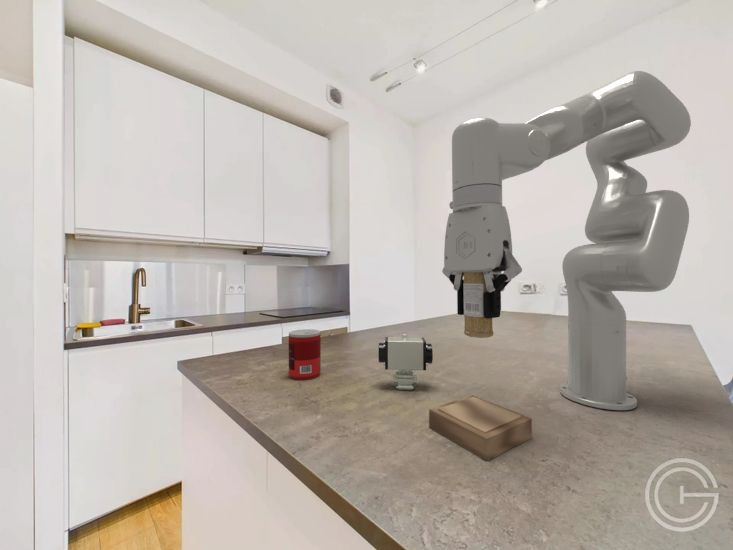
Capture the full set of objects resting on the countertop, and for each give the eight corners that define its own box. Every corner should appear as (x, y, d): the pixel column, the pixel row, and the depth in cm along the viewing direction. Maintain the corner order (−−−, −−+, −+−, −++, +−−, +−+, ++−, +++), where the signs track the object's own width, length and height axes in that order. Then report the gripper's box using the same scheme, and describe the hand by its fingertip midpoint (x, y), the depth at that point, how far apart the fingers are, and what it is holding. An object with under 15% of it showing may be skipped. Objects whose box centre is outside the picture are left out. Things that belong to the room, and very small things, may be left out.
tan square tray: (472, 411, 57) (472, 394, 57) (531, 438, 48) (531, 417, 48) (429, 427, 51) (429, 407, 51) (486, 461, 42) (486, 437, 42)
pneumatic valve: (432, 392, 66) (432, 336, 66) (378, 391, 67) (378, 336, 67) (429, 383, 72) (429, 332, 72) (379, 382, 73) (379, 331, 73)
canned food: (326, 373, 79) (326, 330, 79) (304, 382, 72) (304, 336, 72) (304, 368, 83) (304, 328, 83) (282, 377, 76) (282, 332, 76)
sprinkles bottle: (499, 336, 49) (498, 251, 48) (477, 339, 47) (476, 250, 47) (478, 331, 53) (477, 253, 53) (457, 334, 51) (456, 252, 51)
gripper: (423, 209, 55) (424, 312, 55) (511, 186, 40) (513, 325, 40) (452, 213, 59) (453, 309, 59) (542, 193, 44) (544, 320, 44)
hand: (478, 314), depth 50 cm, fingers closed on sprinkles bottle, 4 cm apart
